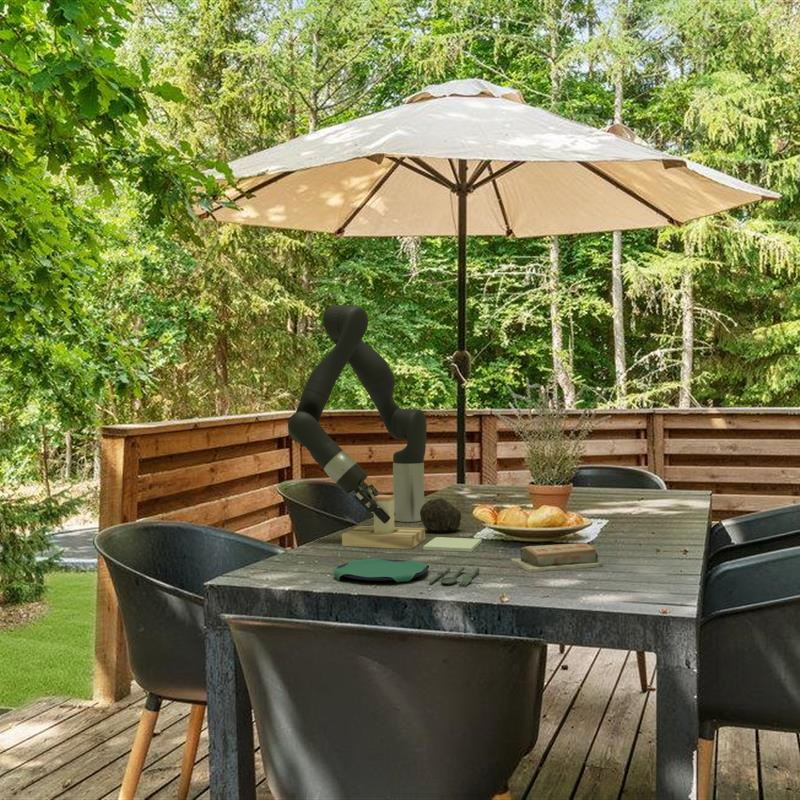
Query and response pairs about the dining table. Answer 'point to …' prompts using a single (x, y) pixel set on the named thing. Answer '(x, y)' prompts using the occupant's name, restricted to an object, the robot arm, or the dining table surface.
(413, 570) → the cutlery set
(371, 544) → the wooden peg board
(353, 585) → the dining table surface
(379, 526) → the plug
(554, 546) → the packaged product
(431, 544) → the mat
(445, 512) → the rock
